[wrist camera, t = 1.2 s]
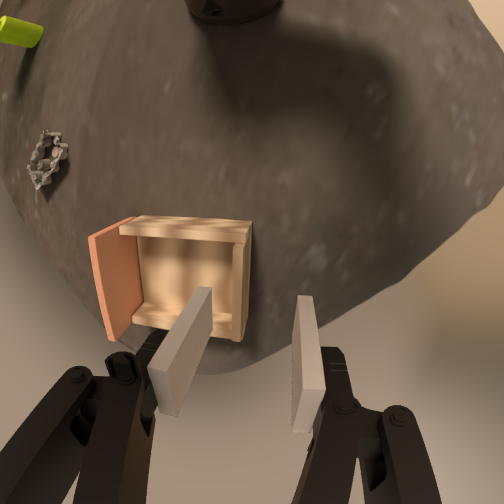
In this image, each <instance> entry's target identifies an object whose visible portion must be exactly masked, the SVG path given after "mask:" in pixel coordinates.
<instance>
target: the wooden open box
mask: <svg viewBox="0 0 504 504" xmlns="http://www.w3.org/2000/svg"><path fill="white" fill-rule="evenodd" d="M119 233H120V235H135V236H137V243H138V253H139V263H140V272H141V280H142V288H143V295H144V303H143V304H142V306H141V307H140V308H139V309H138V310H137V311H136V312H135V313H134V315H133V316H132V322H133V323H135V324H140V325H145V326H151V327H156V328H161V329H167V330H170V329H171V327H172V326H173V324H174V323H175V321H176V320H177V318H178V316H179V315H180V313H181V312H182V310H183V309H184V307H185V305H186V304H187V302H188V301H189V299H190V298H191V296H192V295H193V293H194V292H195V290H196V288H197V287H198V286H203V287H212V315H213V330H212V333H211V335H210V336H212V337H220V338H228V339H232V341H236V342H241V340H242V339H243V335H244V331H245V327H246V323H247V318H248V310H249V286H250V263H251V241H252V221H243V220H227V219H209V218H189V217H167V216H140V217H137V218H135V219H133V220H131V221H129V222H127V223H125V224H123V225H121V226H119Z"/></svg>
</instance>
